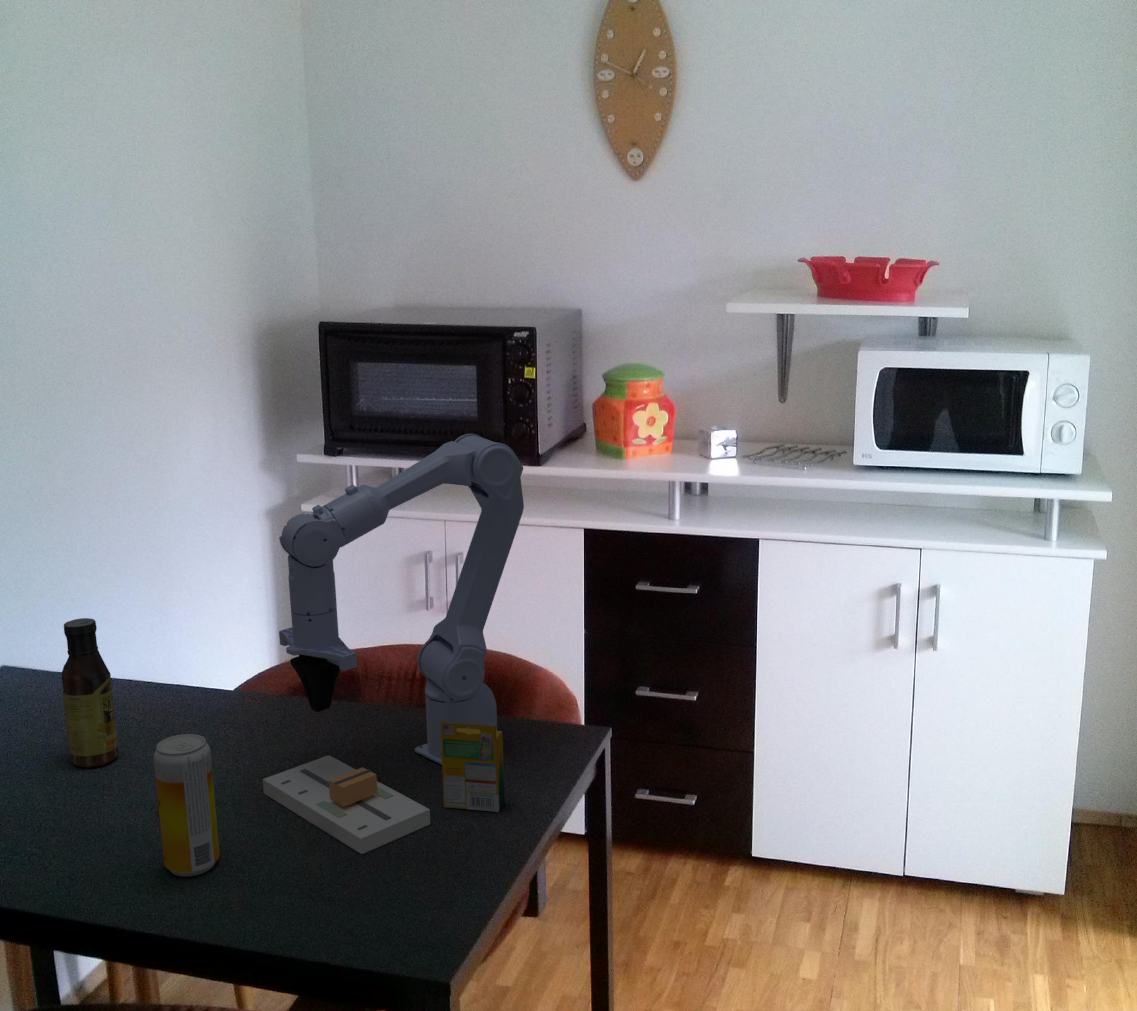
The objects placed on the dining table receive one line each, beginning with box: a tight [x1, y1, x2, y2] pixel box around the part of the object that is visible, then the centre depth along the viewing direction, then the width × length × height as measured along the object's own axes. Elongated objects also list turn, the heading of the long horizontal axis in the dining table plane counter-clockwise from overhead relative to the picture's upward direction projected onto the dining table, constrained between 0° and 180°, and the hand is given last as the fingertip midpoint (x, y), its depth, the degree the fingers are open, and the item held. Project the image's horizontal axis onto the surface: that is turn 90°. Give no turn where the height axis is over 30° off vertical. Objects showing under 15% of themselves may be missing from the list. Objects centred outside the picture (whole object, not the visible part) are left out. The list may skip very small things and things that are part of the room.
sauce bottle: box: [61, 617, 119, 768], centre depth 162 cm, size 6×6×20 cm
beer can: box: [153, 733, 220, 877], centre depth 135 cm, size 6×6×15 cm
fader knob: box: [329, 767, 378, 807], centre depth 147 cm, size 5×3×3 cm, turn 134°
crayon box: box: [441, 722, 506, 813], centre depth 148 cm, size 7×3×12 cm, turn 78°
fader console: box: [262, 755, 431, 855], centre depth 149 cm, size 10×22×2 cm, turn 44°
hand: (320, 708), depth 154 cm, fingers closed
